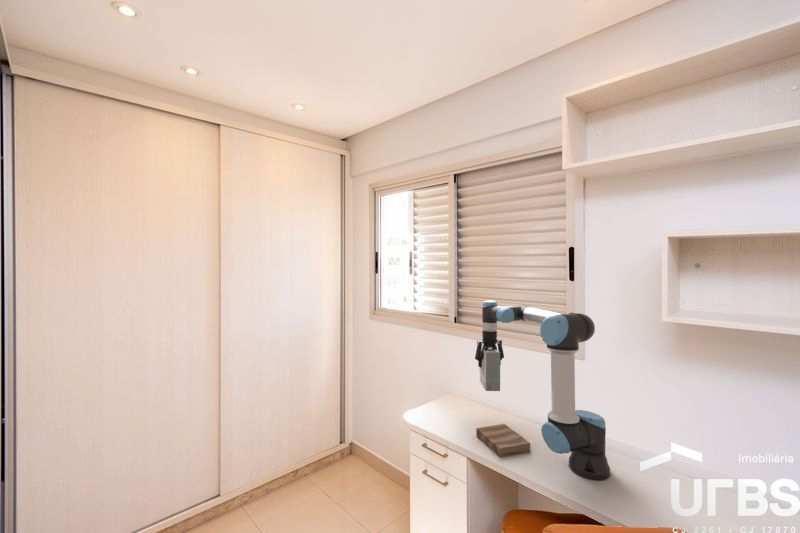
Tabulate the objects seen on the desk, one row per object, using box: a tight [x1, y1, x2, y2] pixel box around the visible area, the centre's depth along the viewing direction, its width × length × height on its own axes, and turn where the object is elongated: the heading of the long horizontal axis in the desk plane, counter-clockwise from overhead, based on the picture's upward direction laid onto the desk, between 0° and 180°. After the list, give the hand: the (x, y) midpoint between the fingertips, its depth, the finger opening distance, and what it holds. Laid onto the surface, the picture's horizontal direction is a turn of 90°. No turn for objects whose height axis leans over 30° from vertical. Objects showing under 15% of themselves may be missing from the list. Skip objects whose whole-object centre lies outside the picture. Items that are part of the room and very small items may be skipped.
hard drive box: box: [479, 345, 501, 392], centre depth 188 cm, size 16×8×20 cm, turn 179°
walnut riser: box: [475, 423, 531, 458], centre depth 167 cm, size 20×16×4 cm
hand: (489, 372), depth 188 cm, fingers closed on hard drive box, 9 cm apart
